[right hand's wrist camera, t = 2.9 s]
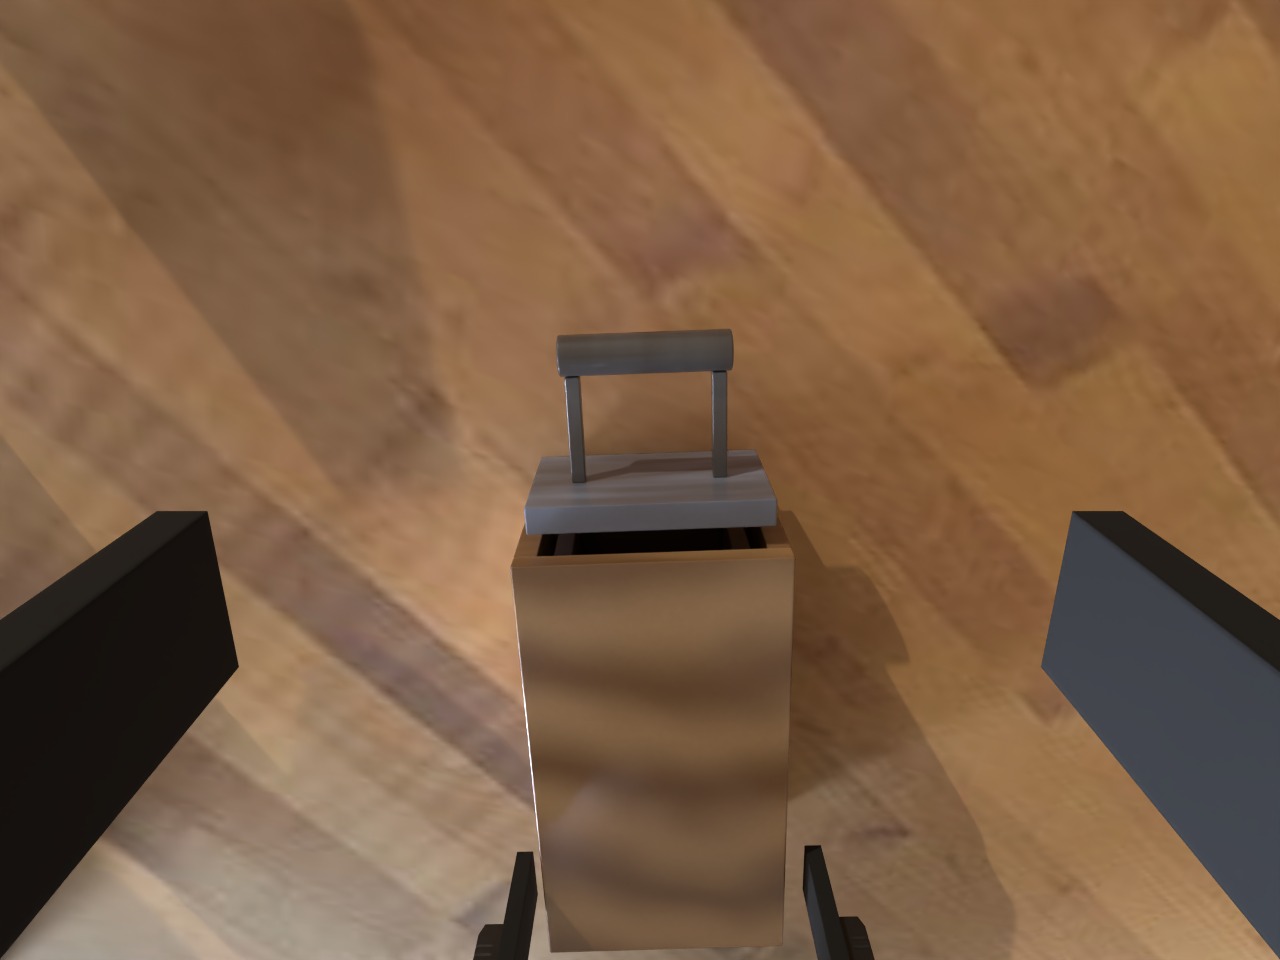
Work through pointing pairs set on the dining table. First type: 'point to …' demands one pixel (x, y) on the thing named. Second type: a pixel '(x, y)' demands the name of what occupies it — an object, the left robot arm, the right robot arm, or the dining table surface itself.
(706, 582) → the cabinet
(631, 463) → the drawer
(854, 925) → the left robot arm
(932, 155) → the dining table surface
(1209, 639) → the right robot arm
